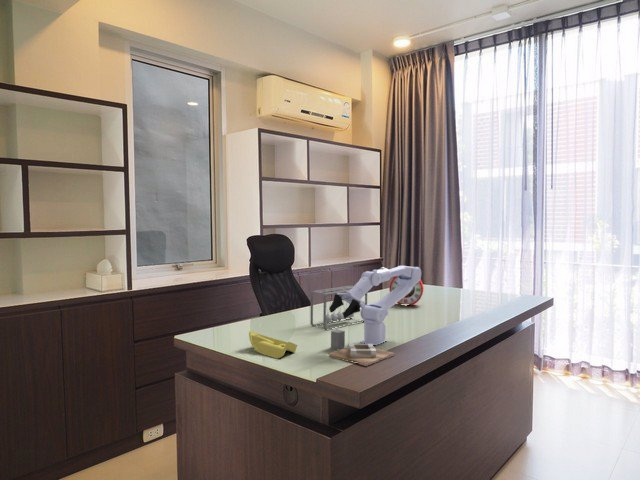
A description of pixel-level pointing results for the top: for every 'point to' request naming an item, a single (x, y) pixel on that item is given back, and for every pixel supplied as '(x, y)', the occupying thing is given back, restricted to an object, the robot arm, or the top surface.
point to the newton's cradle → (333, 316)
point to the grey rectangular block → (337, 339)
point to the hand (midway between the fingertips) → (337, 313)
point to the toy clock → (410, 297)
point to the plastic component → (270, 345)
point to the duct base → (362, 359)
